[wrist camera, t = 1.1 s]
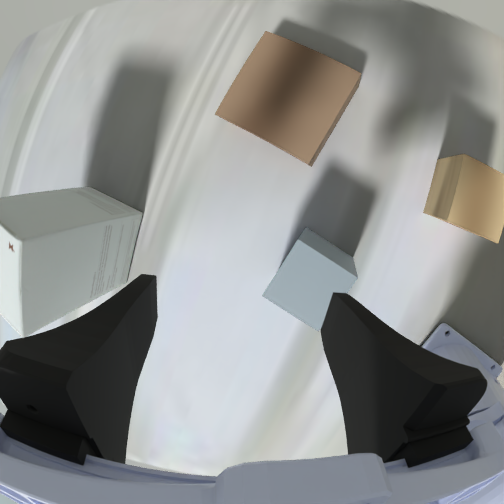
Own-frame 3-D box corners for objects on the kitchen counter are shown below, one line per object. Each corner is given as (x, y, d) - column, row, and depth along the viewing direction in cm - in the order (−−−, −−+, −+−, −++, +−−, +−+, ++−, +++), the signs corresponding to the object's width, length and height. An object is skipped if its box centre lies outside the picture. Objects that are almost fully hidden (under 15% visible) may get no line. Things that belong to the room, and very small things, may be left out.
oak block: (481, 179, 17) (514, 180, 12) (467, 230, 18) (498, 243, 13) (437, 159, 18) (464, 153, 13) (423, 212, 19) (447, 220, 14)
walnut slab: (358, 87, 18) (361, 73, 16) (311, 166, 21) (308, 163, 18) (274, 48, 19) (265, 31, 16) (229, 122, 21) (214, 114, 19)
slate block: (352, 257, 21) (357, 278, 16) (322, 301, 22) (318, 331, 18) (306, 226, 21) (297, 238, 17) (277, 272, 23) (261, 295, 18)
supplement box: (89, 184, 26) (-25, 196, 14) (146, 212, 25) (21, 240, 13) (75, 252, 28) (-24, 286, 16) (127, 286, 27) (22, 342, 15)
